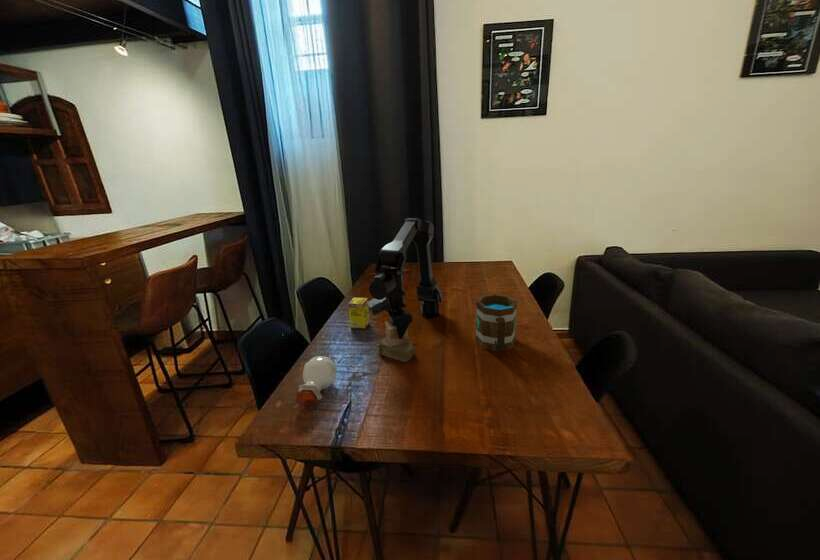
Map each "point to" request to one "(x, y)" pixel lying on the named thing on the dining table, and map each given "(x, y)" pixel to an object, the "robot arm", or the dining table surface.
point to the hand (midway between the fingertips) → (397, 332)
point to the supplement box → (359, 313)
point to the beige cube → (394, 335)
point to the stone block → (397, 350)
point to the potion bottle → (315, 380)
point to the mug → (496, 322)
